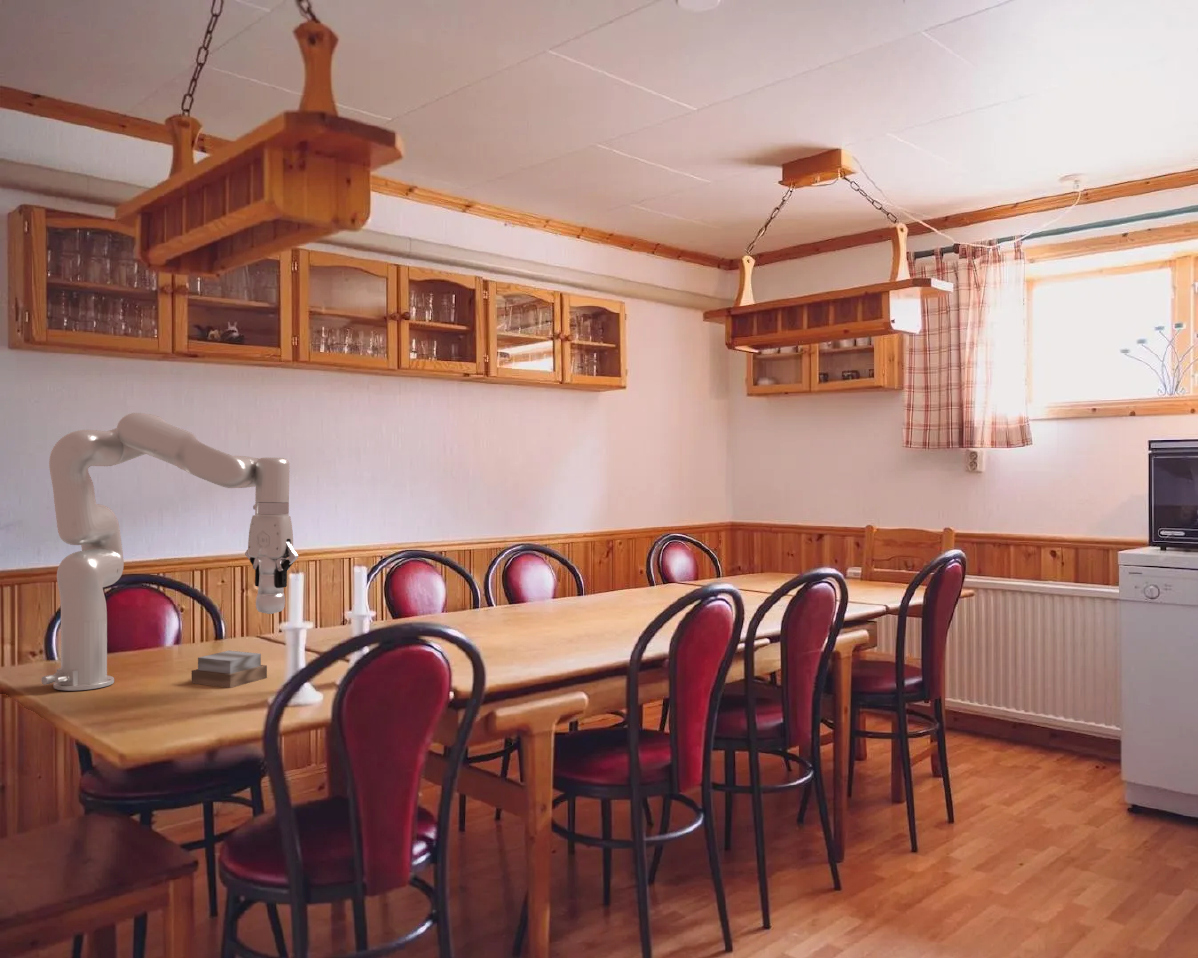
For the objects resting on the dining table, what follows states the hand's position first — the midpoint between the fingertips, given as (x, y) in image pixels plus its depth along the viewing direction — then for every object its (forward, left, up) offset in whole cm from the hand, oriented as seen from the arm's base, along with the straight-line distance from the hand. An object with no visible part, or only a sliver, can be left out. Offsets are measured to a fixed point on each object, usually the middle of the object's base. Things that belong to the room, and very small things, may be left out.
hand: (270, 585), depth 226 cm
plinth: (0, +13, -23) cm, 27 cm away
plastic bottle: (0, 0, -7) cm, 7 cm away
